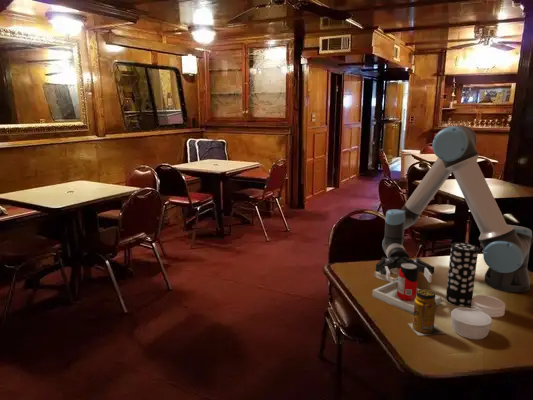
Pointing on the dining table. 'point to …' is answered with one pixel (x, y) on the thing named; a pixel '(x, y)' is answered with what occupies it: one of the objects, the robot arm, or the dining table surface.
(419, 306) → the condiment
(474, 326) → the ramekin
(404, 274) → the beverage can
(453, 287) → the spotted tube
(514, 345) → the dining table surface
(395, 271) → the collar
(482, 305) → the shallow round dish
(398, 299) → the tray
